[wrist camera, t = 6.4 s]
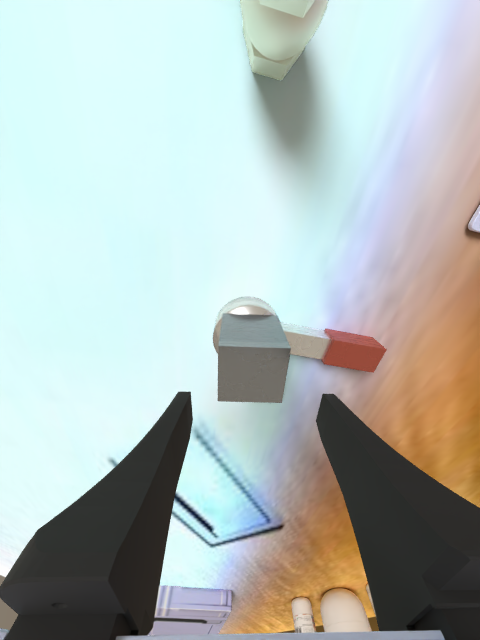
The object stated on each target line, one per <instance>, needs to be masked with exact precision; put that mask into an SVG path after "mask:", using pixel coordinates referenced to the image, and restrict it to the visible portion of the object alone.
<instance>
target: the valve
mask: <svg viewBox="0 0 480 640" xmlns="http://www.w3.org/2000/svg"><path fill="white" fill-rule="evenodd" d="M328 1H329V0H240V6H241V12H242V18H243V33H244V38H245V42H246V47H247V51H248V56H249V60H250V65H251V69H252V72H253V73H256V74H260V75H263V76H267V77H270V78H273V79H277V80H281V81H282V80H283V78H284V77H285V76H286V74H287V73H288V71H289V70H290V69H291V67H292V66H293V64H294V63H295V62H296V60H297V59H298V57H299V56H300V55H301V53H302V52H303V50H304V49H305V47H306V45H307V43H308V42H309V41H310V40H311V38H312V37H313V35H314V34H315V32H316V30H317V28H318V27H319V25H320V23H321V20H322V18H323V16H324V13H325V11H326V8H327V4H328Z"/></svg>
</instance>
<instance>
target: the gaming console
mask: <svg viewBox="0 0 480 640" xmlns="http://www.w3.org/2000/svg"><path fill="white" fill-rule="evenodd" d="M231 610H232V592H231V590H221V589H204V588H187V587H180V586H160V585H159V591H158V598H157V604H156V611H155V618H154V625H153V628H152V630H151V631H150V633H149V634H148V635H203V634H219V632H220V630H221V628H222V627H223V625H224V623H225V621H226V620H227V618H228V616H229V614H230V613H231Z"/></svg>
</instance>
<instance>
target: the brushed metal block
mask: <svg viewBox="0 0 480 640" xmlns="http://www.w3.org/2000/svg"><path fill="white" fill-rule="evenodd" d="M290 351H291V347H290V345H289V342H288V340H287V338H286V335H285V333H284V331H283V328H282V326H281V323H280V321H279V319H278V316H277V315H255V314H230V313H223V315H222V323H221V330H220V337H219V345H218V401H231V402H272V403H282V398H283V392H284V386H285V381H286V375H287V369H288V363H289V357H290Z"/></svg>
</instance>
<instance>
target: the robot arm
mask: <svg viewBox="0 0 480 640" xmlns="http://www.w3.org/2000/svg"><path fill="white" fill-rule="evenodd" d="M468 229H469V230H471V231H475V232H478V233H480V205H479V207H478V208H477V210H476V212H475V214H474V215H473V217H472V219H471V220H470V222H469V224H468ZM192 420H193V418H192V405H191V392H178V393H177V394H176V396H175V398H174V399H173V401H172V402H171V403H170V405H169V406H168V408H167V409H166V410H165V412H164V413H163V414H162V416H161V417H160V418H159V420H158V421H157V422H156V424H155V425H154V426H153V427H152V428H151V430H150V431H149V432H148V433H147V434H146V435H145V437H144V438H143V439H142V440H141V441H140V442H139V443H138V445H137V446H136V447H135V448H134V449H133V450H132V451H131V452H130V453H129V454H128V455H127V456H126V457H125V458H124V459H123V460H122V461H121V462H120V463H119V464H118V465H117V466H116V467H115V468H114V469H113V470H112V471H111V472H109V473H108V474H107V475H106V476H105V477H104V478H103V479H102V480H101V481H99V482H98V483H97V484H96V485H95V486H93V487H92V488H91V489H90V490H89V491H87V492H86V493H85V494H84V495H83V496H81V497H80V498H79V499H78V500H77V501H75V502H74V503H73V504H72V505H70V506H69V507H68V508H66V509H65V510H64V511H62V512H61V513H60V514H58V515H57V516H56V517H54V518H53V519H52V520H50V521H49V522H48V523H46V524H45V525H44V526H42V527H41V528H40V529H38V530H37V532H36V533H35V535H34V536H33V537H32V539H31V540H30V541H29V543H28V544H27V545H26V547H25V548H24V550H23V551H22V553H21V554H20V556H19V558H18V559H17V561H16V562H15V564H14V565H13V567H12V569H11V570H10V572H9V573H8V575H7V576H6V578H5V580H4V581H3V583H2V584H1V586H0V598H1V599H2V600H3V601H4V602H5V603H6V604H7V605H8V606H9V607H11V608H12V609H13V610H14V611H15V612H16V613H17V614H18V617H17V619H16V620H15V622H14V624H13V626H12V628H11V629H10V631H9V630H7V629H2V628H0V640H480V508H479V507H477V506H475V505H474V504H472V503H470V502H469V501H467V500H466V499H464V498H462V497H461V496H459V495H458V494H456V493H454V492H453V491H451V490H450V489H448V488H447V487H445V486H444V485H442V484H441V483H439V482H438V481H436V480H435V479H433V478H432V477H430V476H429V475H427V474H426V473H425V472H423V471H422V470H420V469H419V468H417V467H416V466H415V465H413V464H412V463H411V462H409V461H408V460H407V459H405V458H404V457H403V456H402V455H400V454H399V453H398V452H396V451H395V450H394V449H393V448H391V447H390V446H389V445H388V444H387V443H386V442H384V441H383V440H382V439H381V438H380V437H379V436H377V435H376V434H375V433H374V432H373V431H372V430H371V429H370V428H368V427H367V426H366V425H365V424H364V423H363V422H362V421H361V420H360V419H359V418H358V417H357V416H356V415H355V414H354V413H353V412H352V411H351V410H350V409H349V408H348V407H347V406H346V405H345V404H344V403H343V402H342V401H341V400H340V399H339V398H337V397H336V396H335V395H334V394H323V395H322V399H321V403H320V407H319V411H318V415H317V419H316V422H317V426H318V430H319V434H320V437H321V441H322V443H323V446H324V448H325V451H326V453H327V456H328V458H329V461H330V463H331V466H332V468H333V471H334V473H335V475H336V478H337V480H338V483H339V485H340V488H341V491H342V494H343V496H344V500H345V503H346V506H347V509H348V512H349V516H350V519H351V522H352V526H353V529H354V533H355V536H356V540H357V543H358V547H359V550H360V554H361V558H362V562H363V565H364V569H365V573H366V577H367V581H368V585H369V589H370V593H371V597H372V601H373V605H374V610H375V614H376V618H377V623H378V627H379V631H375V632H374V631H373V632H321V633H320V632H318V633H317V632H316V633H259V634H203V635H148V634H149V633H150V631H151V630H152V628H153V625H154V618H155V611H156V604H157V598H158V591H159V585H160V578H161V572H162V566H163V560H164V554H165V547H166V542H167V536H168V530H169V524H170V519H171V513H172V508H173V502H174V497H175V492H176V488H177V484H178V480H179V477H180V473H181V469H182V465H183V462H184V458H185V454H186V450H187V447H188V443H189V439H190V433H191V427H192Z"/></svg>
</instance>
